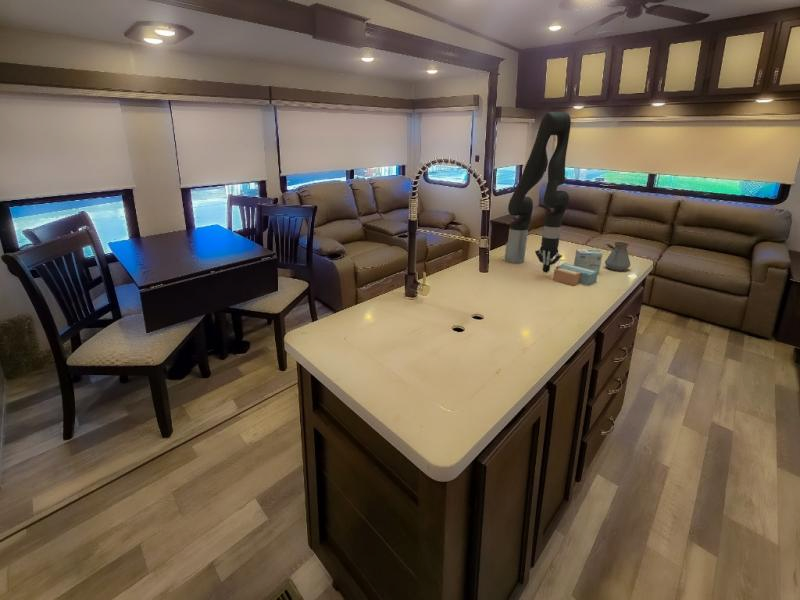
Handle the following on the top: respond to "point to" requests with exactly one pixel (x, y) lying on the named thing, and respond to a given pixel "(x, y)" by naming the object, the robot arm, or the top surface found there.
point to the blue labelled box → (582, 273)
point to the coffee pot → (618, 257)
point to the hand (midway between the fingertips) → (545, 272)
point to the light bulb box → (588, 259)
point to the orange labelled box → (566, 276)
